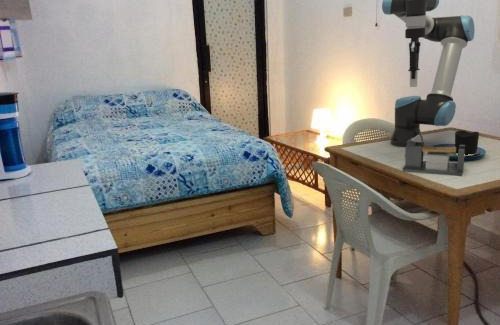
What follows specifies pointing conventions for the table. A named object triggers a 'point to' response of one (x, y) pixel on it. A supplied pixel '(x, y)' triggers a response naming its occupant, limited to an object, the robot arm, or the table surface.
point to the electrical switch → (416, 140)
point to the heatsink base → (432, 161)
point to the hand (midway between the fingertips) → (413, 86)
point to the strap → (438, 149)
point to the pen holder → (467, 141)
